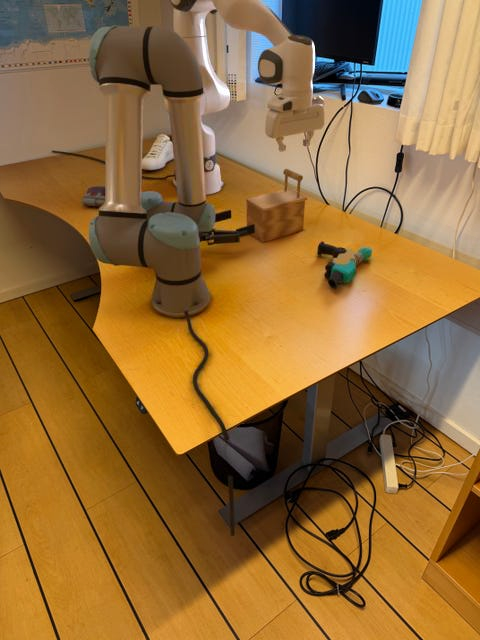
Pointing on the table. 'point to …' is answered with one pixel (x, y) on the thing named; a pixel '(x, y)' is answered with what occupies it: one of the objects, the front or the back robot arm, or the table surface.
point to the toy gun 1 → (94, 196)
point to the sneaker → (159, 153)
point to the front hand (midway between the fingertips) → (242, 220)
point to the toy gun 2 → (342, 263)
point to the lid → (279, 195)
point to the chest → (276, 220)
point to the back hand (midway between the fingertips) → (294, 148)
